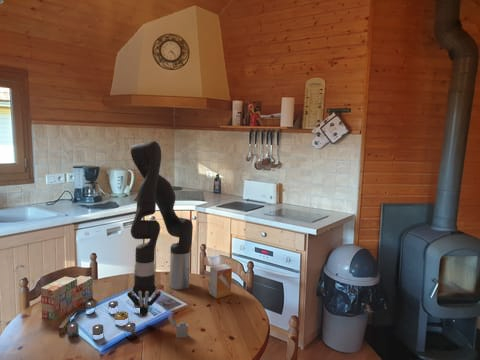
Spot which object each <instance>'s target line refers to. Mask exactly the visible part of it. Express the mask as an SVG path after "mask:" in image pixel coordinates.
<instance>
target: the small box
mask: <svg viewBox="0 0 480 360" xmlns="http://www.w3.org/2000/svg"><path fill="white" fill-rule="evenodd" d="M232 272H233V268H232V267H231V266H229V265H228V264H226V263H222V264H217V265H212V266H210V268H209V289H208V290H209V291H208V292H209V295H210V296H212V297H214V298H215V299H218V298H222V297H227V296H230V295H232V293H231V291H232V275H233V273H232Z"/></svg>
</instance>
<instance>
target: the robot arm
mask: <svg viewBox="0 0 480 360" xmlns="http://www.w3.org/2000/svg"><path fill="white" fill-rule="evenodd" d="M130 156H131V159H132V162H133V164H134V166H135V167H136V168H137V170H138V171H139V173H140V174H141V176H142V178H143V181H142V182H141V185H139V187H138V188H139V189H138V190H137V195H136V209H135V210H136V211H135V214H134V215H135V216H134V218H133V222H132V223H131V228H130V234H131V237H132V238H133V239H135V240H149V241H147V242H145V243H141V244H138V245H136V247H135V254H134V256H135V258H134V259H135V262H134V269H133V271H134V272H133V274H134V277H133V279H134V284H133V286H132V289H130V290H129V291H128V292H127V294H126V295H127V297H128V298H129V299H130V300H131V302H132V303H133V305H134V304H135V305H136V306H137V305H138V306H140V314H139V315H141V317H146V316H147V315H148V313H149V307H151V306H153V305H154V304H155V303H156V301H157V300H158V299H159V297H161V295H162V291H161V290H158V289H157V286H156V284H155V283H156V279H155V278H156V277H155V276H156V261H155V254H156V246H157V241H158V237H159V235H160V231H161V225H160V222H158V221H157V220H156V219H150V220H149V219H145V220H144V219H143V218H145V217H147V216H151V215H154V214H155V213H156V206H157V208H158V210H159V213H160V214H161V217H162V220H163V223H164V225H165V228H166V231H167V233H168V234H169V235H170V236H172V237H174V238H178V242H176V243H172V244H171V245H170V249H169V250H170V257H169V260H170V261H169V262H170V263H169V264H170V265H169V288H170V289H172V290H177V291H181V290H182V291H183V290H186V289H189V288H190V279H191V278H190V274H191V272H190V271H191V263H190V262H191V247H192V243H193V232H194V229H193V222H192V221H191V219H189V218H183V217H179V216H178V215H177V214H176V212H175V209H174V206H175V204H176V194H175V191H174V189H173V186H172V184H171V182H169V181H168V179H166V177H164V176H162V175H161V174H160V169H161V163H162V149H161V146H160V145H159V143H158V142H157V141H155V140H154V141H153V140H152V141H145V142H141V143H136V144H133V145H132V146H131V147H130ZM152 295H154V296H153V297H152ZM137 297H138V298H137ZM151 297H152V298H151ZM150 298H151V299H150Z"/></svg>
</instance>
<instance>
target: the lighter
mask: <svg viewBox="0 0 480 360" xmlns="http://www.w3.org/2000/svg"><path fill="white" fill-rule="evenodd" d="M167 319H168V322H169V323H170V325H171V327H172V329H174V328H175V334H176V335H175V337H176V338H177V339H178V338H179V339H180V338H181V339H182V338H188V335H189V324H188V323H187V322H185V321H180V322H179V323H177V322H176V320H175V319H174V316H173V315H172V314H171V315H169V316H168V317H167Z"/></svg>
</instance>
